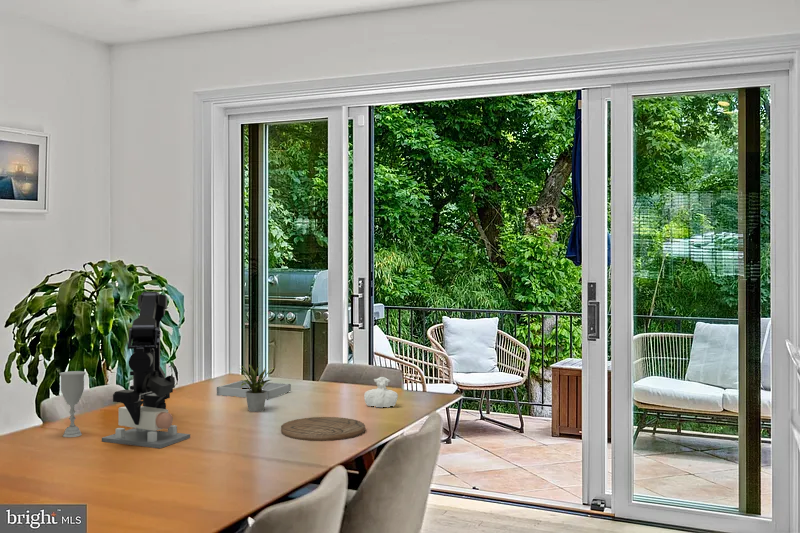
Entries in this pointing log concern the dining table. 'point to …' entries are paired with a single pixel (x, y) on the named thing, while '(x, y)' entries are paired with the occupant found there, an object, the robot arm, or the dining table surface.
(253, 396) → the house plant
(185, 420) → the dining table surface
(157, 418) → the white block
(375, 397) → the bust
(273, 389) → the tray
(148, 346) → the robot arm
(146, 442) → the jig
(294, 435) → the trivet
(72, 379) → the chalice
